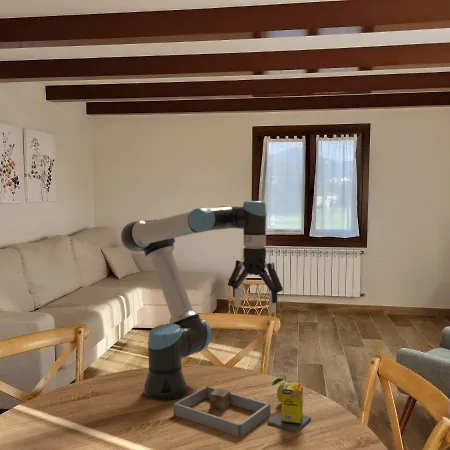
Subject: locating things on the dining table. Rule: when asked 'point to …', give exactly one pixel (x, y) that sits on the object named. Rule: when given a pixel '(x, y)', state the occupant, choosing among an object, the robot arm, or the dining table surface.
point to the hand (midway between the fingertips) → (254, 309)
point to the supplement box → (292, 403)
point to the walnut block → (220, 399)
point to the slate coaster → (291, 427)
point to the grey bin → (216, 422)
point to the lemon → (280, 388)
